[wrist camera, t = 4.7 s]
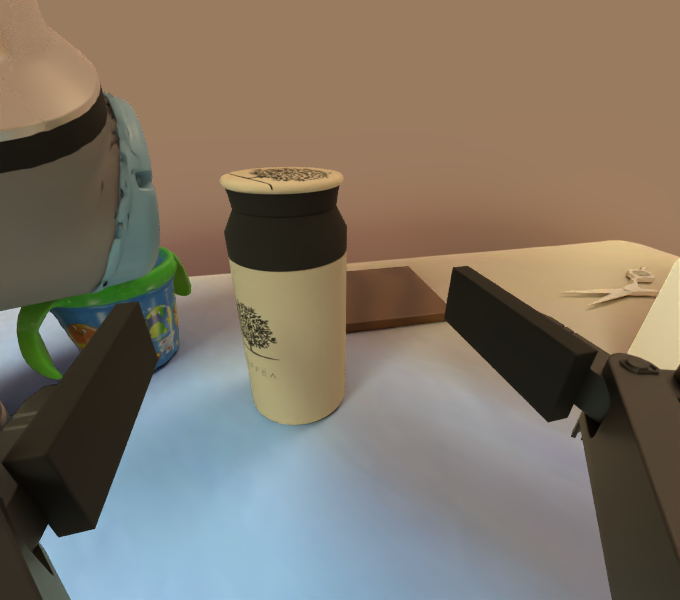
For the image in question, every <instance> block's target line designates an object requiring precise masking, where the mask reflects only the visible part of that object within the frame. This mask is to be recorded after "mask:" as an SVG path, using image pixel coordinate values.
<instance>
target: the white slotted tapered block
mask: <svg viewBox="0 0 680 600" xmlns="http://www.w3.org/2000/svg"><path fill="white" fill-rule="evenodd" d="M627 354H630V355H633V356H636V357H640V358H642V359H644V360H646V361H649V362H651V363H652V364H654V365H655V366H657V367H658V368H659V369H665V370H676V369H677V367H678V366H679V364H680V258H679V259H678V260H677V261H676V262H675V264H674V266H673V267H672V269H671V271H670V273H669V275H668V277H667V279H666V281H665V282H664V284H663V286H662V288H661V290H660V292H659V294H658V296H657V298H656V299H655V301H654V303H653V305H652V307H651V309H650V311H649V313H648V315H647V316H646V318H645V320H644V322H643V324H642V326H641V328H640V330H639V332H638V333H637V335H636V337H635V339H634V341H633V343H632V345H631V347H630V349H629V350H628V352H627Z"/></svg>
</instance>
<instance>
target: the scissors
mask: <svg viewBox="0 0 680 600" xmlns="http://www.w3.org/2000/svg"><path fill="white" fill-rule="evenodd" d="M646 268H647V267H645V266H641V268H640V269H631V270H628V272H627V276H628V277H629V278H631V280H630V282H629V283H630V284H628V285H626V286H625V287H623V288H621V289H592V290H572V291H562V292H582V293H611V294H609V295H607V296H605V297H603V298H601V299H599V300H597V301H595V302H593V303H591V304H596V303H600V302H604V301H608V300H612V299H616V298H619V297H622V296H626V295H634V296H639V295H647V296H658V294H659V292H660V291H658V290H652V289H647V288H640V287H639V286H638V283H637V282H641V281H643V282H652V281H653V280H654V278H655V275H654V274H653V273H651V272H648V271H646ZM636 274H639V275H644V276H638V275H636ZM591 304H589V305H591Z"/></svg>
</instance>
